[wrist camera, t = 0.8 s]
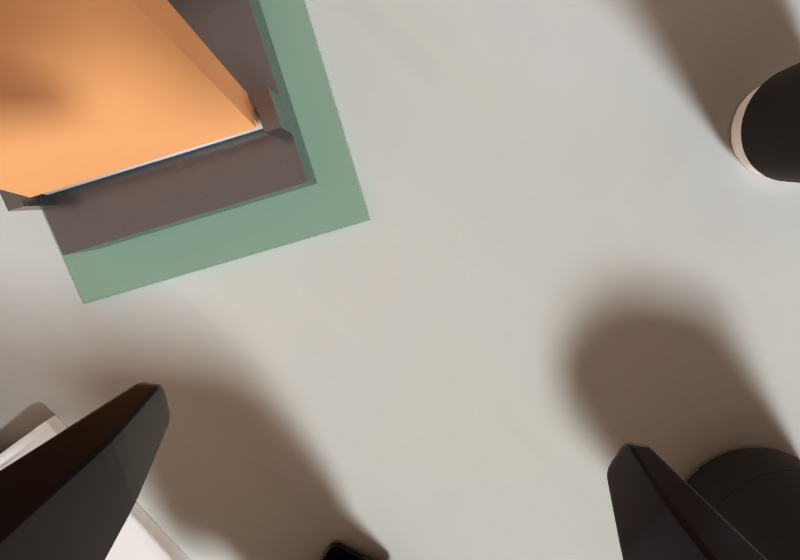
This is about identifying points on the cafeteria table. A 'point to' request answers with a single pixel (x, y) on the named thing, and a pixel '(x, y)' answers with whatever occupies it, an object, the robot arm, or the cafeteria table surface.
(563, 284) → the cafeteria table surface
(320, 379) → the cafeteria table surface
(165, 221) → the grey stand
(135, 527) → the external hard drive
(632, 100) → the cafeteria table surface
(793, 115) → the dixie cup
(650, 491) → the robot arm
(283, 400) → the cafeteria table surface
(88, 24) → the orange upright panel
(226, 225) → the green flat slab
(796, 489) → the pen holder
